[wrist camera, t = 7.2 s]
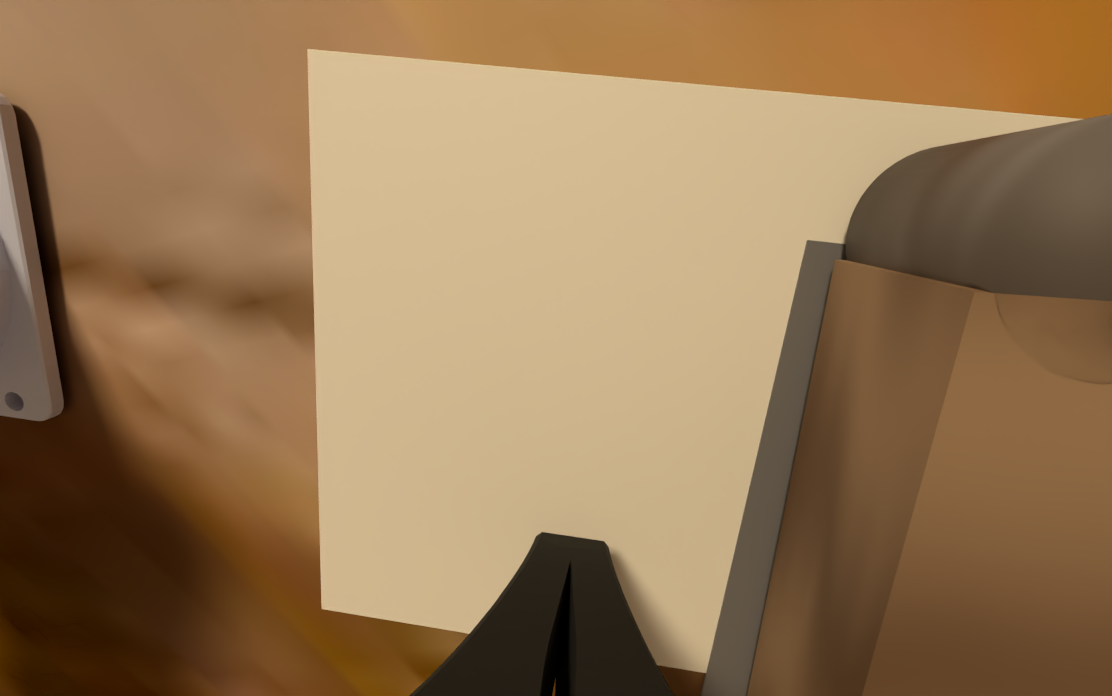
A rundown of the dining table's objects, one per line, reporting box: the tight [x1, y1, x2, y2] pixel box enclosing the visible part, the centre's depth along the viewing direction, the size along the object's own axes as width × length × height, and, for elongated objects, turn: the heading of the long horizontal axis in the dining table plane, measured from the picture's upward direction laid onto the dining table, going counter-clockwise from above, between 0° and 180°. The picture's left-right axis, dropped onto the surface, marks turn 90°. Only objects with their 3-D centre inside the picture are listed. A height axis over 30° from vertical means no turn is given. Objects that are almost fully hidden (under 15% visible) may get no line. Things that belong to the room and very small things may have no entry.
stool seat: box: [308, 49, 1083, 696], centre depth 11 cm, size 13×13×2 cm
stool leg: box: [747, 114, 1112, 696], centre depth 8 cm, size 12×3×4 cm, turn 177°
